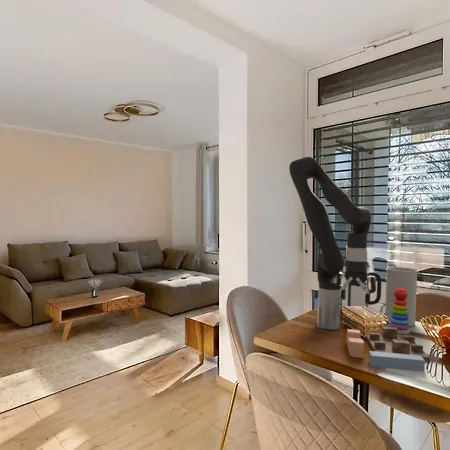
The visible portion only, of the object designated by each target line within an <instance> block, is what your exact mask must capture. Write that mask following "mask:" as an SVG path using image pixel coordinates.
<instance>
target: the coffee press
mask: <svg viewBox="0 0 450 450" xmlns="http://www.w3.org/2000/svg"><path fill="white" fill-rule="evenodd" d="M370 268H371V265H370V263H369V262H368V261H367V276H375V277H376V298H375V299H374V300H370V302H368V303H367V304H366V303H365V294H366V292H365V291H364V289H363V288H362V287H361V286H355V285H354V286H352V285H350V284H349V285H348V286H347V287H346V288H345V290H346V299H345V300H342V299H341V302H342V303H341V305H342V306H340V311H341V309H342V310H343V308H342V307H343V306H366V307H368V308H369V306H370V305H377V304H378V303H379V302H380V300H381V297H382V279H381V276H380V275H379V274H378V273H376V272H373V271H372V272H371V271H370ZM342 273H346V259H344V268H343V270H342ZM346 281H347V280H346V278H345V277H343V278H342V286H343V285H344V283H345V282H346ZM365 282H366V284H367V285H368V287H369V286H370V285H369V283H370V282H369V280H368V279H367V280H366V281H365Z"/></svg>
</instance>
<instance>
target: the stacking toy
mask: <svg viewBox="0 0 450 450" xmlns="http://www.w3.org/2000/svg"><path fill="white" fill-rule="evenodd" d="M394 296H395V297H396V298H397V299H395V300H394V303H395V304H393V309H392V312H393V313H392V315H391V316H392V318H391V322H390V324H389V327H396V328H397V329H398V335H399V336H400V335H403V336H404V335H406V336H407V335H409V334H410V332H411V329H409V328H410V327H409V325H408V323H409V320H408V318H409V317H408V315H407V314H408V311H407V310H406V309H407V306H406V304H407V301H406V300H405V299H406V298H407V291H406V290H405V289H402V288H398V289H396V290H395V292H394Z"/></svg>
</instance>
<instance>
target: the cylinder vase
mask: <svg viewBox="0 0 450 450" xmlns="http://www.w3.org/2000/svg"><path fill="white" fill-rule="evenodd" d="M385 280H386V283H385V303H384V307H385V309H384V311H385V312H384V317H385V316H387V318H388V323H387V324H389V325H390V322H391V318H392V316H391V315H392V313H393V312H392V309H393V304H395V303H394V300H395V299H397V298H396V297H395V296H394V292H395V290H396V289H398V288H402V289H405V290H406V291H407V298H406V299H405V300H406V301H407V304H406V306H407V309H406V310H407V311H408V314H407V315H408V317H409V318H408V320H409V323H408V325H409V326H411V327H413V325H414V326H415V325H416V311H417V310H416V309H417V287H418V285H417V284H418V269H415V268H410V267H405V266H404V267H403V266H398V267H397V266H387V267H386V279H385Z"/></svg>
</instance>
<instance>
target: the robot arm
mask: <svg viewBox="0 0 450 450" xmlns="http://www.w3.org/2000/svg"><path fill="white" fill-rule="evenodd" d="M288 169H289V174H290V177H291V180H292V182H293V185H294V187H295V189H296V192H297V194H298V196H299V199H300V202H301V205H302V208H303V212H304V215H305V219H306V222H307V225H308V227H309V229H310V231H311V233H312V235H313V236H314V238H315V240H316V242H317V243H318V246H319V248H320V251H321V253H320V254H319V255H318V258H317V267H316V269H317V281H318V299H317V300H318V301H317V321H316V323H317V328H318V329H319V328H320V329H323V330H331V331H333V330H334V331H335V330H339V329H340V325H341V319H340V318H341V310H340V309H341V301H342V300H345V299H346V290H345V288H346V287H347V286H348V285H349V284H350V285H352V286H354V285H355V286H361V287H362V288H363V289H364V291H365V292H366V294H365V303H366V304H367V303H368V302H370V301H371V294H374V293H376V292H377V279H376V277H375V276H367V262H368V249H367V248H368V234H369V231H370V227H371V224H372V223H371V222H372V215H371V211H370V210H369V209H368V208H367V207H365V206H356V204H355V203H353V202H352V198H351V196H350V195H349V194H348V193H346V192H345V191H344V190H343V189H342V188H341V187H340V186H338V185H337V184H336V183H335V182H334V181H333V179H332V178H331V177H330V176H329V174H328V173H327V172H326V171H325V170H324V169H323V166H321V165H320V164H319V162H318V161H317V160H316V159H315V158H313V157H312V156H306V157H302V158H299V159H295V160H293V161H291V162H290V164H289V168H288ZM310 179H313V180H314V181H316V182H317V183H318V184H319V186H320V187H321V192H322V195H323V197H324V199H325V200H326V201H327V203H329V204H330V205H331V206H332V208H334V209H335V210H337V212H338V214H339V215H340V216H341V218H342V219H343V220H344V221H345V222H346V224H348V225H351V226H352V230H350V232H348V234H347V237H346V238H347V240H346V241H347V242H346V243H347V245H346V251H345V252H346V253H345V255H346V257H345V259H344V257H343V254H342V252H341V250H340V248H339V245H338V243H337V241H336V238H335V237H336V236H335V233H334V230H333V227H332V224H331V220H330V216H329V213H328V210H327V206H326V205H325V204H324V202H323V201H322V200H321V199H320V198H319V197H318V196H317V195H316V194H315V193H314V192H313V191H312V189H311V188H310V185H309V182H308V180H310ZM345 260H346V273H343V268H344V261H345ZM343 277H345V278H346V280H347V281H346V282H345V283H344V285H343V284H342V281H343ZM367 279H368V280H369V283H370V287H369V286H368V285H367V284H366V282H365V281H366V280H367Z"/></svg>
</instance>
